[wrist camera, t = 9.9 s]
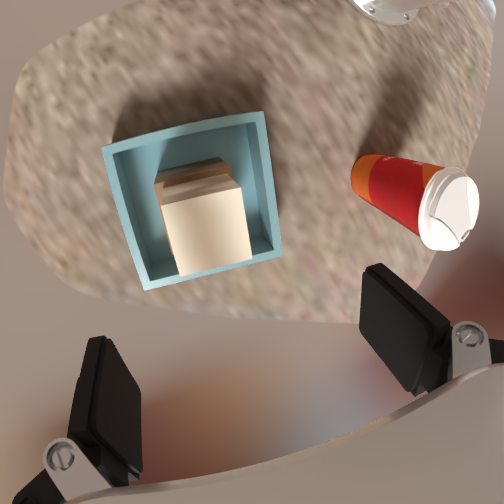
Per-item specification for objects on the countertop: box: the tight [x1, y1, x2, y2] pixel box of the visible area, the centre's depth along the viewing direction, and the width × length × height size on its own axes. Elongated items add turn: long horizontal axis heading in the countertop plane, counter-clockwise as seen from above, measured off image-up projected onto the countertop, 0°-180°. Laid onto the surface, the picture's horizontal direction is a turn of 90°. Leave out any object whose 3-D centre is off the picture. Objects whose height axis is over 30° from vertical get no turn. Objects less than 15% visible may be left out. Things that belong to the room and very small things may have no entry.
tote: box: [101, 111, 283, 291], centre depth 28 cm, size 14×14×4 cm
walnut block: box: [154, 157, 233, 255], centre depth 26 cm, size 6×6×6 cm
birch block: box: [161, 173, 252, 277], centre depth 22 cm, size 5×5×5 cm
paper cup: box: [351, 154, 479, 251], centre depth 28 cm, size 8×8×14 cm
